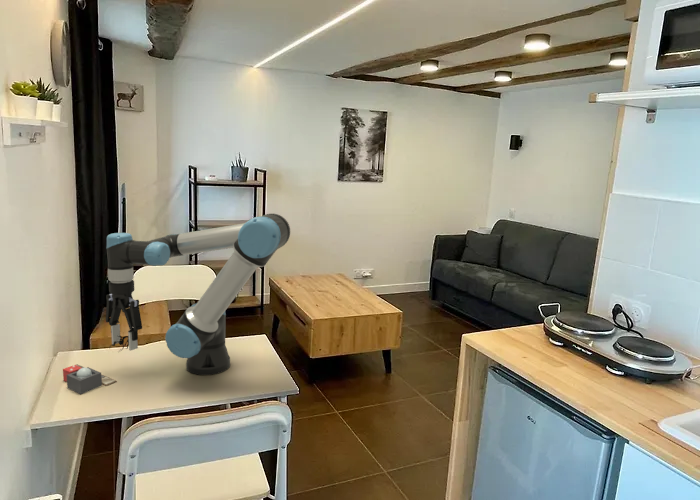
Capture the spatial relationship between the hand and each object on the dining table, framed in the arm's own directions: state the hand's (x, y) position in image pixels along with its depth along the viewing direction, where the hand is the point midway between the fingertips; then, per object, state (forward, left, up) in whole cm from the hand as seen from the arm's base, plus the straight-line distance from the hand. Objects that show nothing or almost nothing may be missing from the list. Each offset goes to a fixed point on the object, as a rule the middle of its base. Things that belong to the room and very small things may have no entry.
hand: (124, 346), depth 162 cm
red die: (+10, +12, -10) cm, 19 cm away
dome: (+2, +13, -8) cm, 16 cm away
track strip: (+9, +7, -10) cm, 15 cm away
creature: (0, +1, 0) cm, 1 cm away
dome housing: (+2, +13, -10) cm, 17 cm away
